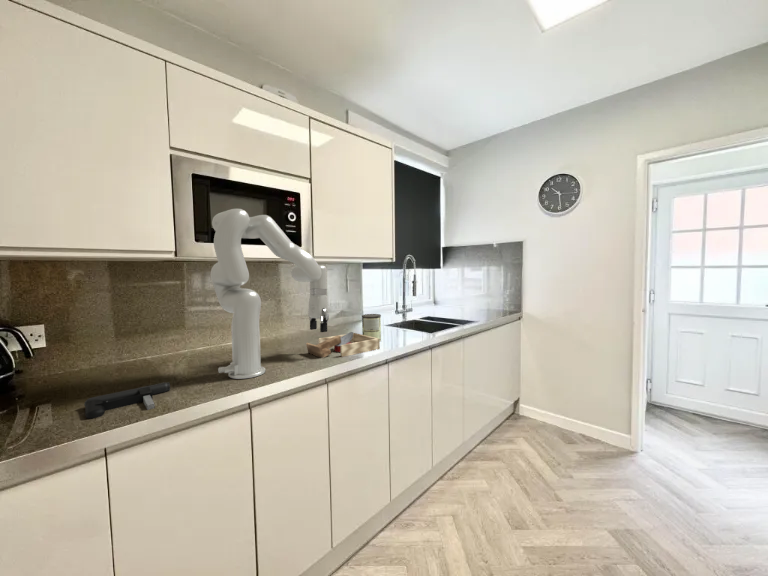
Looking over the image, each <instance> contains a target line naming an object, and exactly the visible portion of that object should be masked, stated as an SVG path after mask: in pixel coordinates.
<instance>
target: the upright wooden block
mask: <svg viewBox="0 0 768 576" xmlns="http://www.w3.org/2000/svg"><path fill="white" fill-rule="evenodd" d="M334 336H335V337H333V338H330V339H328V340H326V341H324V342H322V343H319V342H318V343H317V344H313V343H310V342H306V343H305V345H306V350H307V353H308V354H309V353H310V354H309V355H312V354H313V355H312V356H315V357H317V356H318V358H320V357H321V359H323V357H324V358H326V357H328V356H329V355H332V351H331V348H333V346H335V345H337V344H339V343H342V342H341V338H340V336H338V335H334Z"/></svg>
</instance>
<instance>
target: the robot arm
mask: <svg viewBox="0 0 768 576" xmlns="http://www.w3.org/2000/svg"><path fill="white" fill-rule="evenodd" d="M211 225H212V228H213V229H214V232H215V233H214V236H213V237H214V238H213V247H214V253H215V256H216V259H217V262H216V263H215V264H213V266H212V267H211V269H210V280H211V283H212V287H213V289H214V292H215V295H216V297H217V301H218V303H219V305H220V308H222V310H224V311H225V312H227V313H230V314H232V319H231V326H230V327H231V329H230V330H231V352H232V362H230V364H229V365H227V366H219V367H218V368H217V370H218V373H219V374H222V373H224V374H228V378H230V379H233V380H234V379H236V380H240V379H242V380H243V379H251V378H255V377H259V376H261V375H263V374H265V373H266V368H265V367H264V366H262V363H261V361H262V359H261V358H262V357H261V334H260V333H261V332H260V331H261V330H260V316H261V315H260V314H261V308H262V299H261V297H260V294H259V293H258V292H257V291H255V290H254V289H251V288H243V287H241V286H243V285H246V284H247V283H248V282H249V279H250V273H249V272H250V271H249V269H248V266H247V263H246V259H245V256H244V253H243V250H242V249H243V248H242V239H250V240H251V239H260V240H261V241H262V242H263V243H264V244H265V245H266V247H267V248H268V249H269V251H271V252H272V253H273V255H275V256H276V257H278V258H280V259H282V260H286V261H288V262H291V264H293V265H295V266H293V267H292V269H291V271H290V274H291V277H292V278H293V279H292V280H294V281H296V282H301V283H306V282H307V283H308V282H309V298H308V317H309V330H311V331H313V330H318V321H317V320H320V323H319V326H320V327H319V330H320V332H319V333H326V332H328V322H329V317H330V313H329V312H328V299H327V296H328V295H327V294H328V288H327V287H328V283H327V282H328V278H327V277H328V274H327V272H328V270H327V267H326V266H325V265H321V264H318V262H317V260H316V259H315V258H314V257H313V255H311V254H310V253H309V252H307V251H306V250H305V249H303V248H301V246H299V245H297V244H295V243H294V242H293V241H291V239H290V238H289V237H288V236H287V235H286V233H285V232H284V230H283V229H281V227H280V226H279V225H278V223H276V221H275V220H274V219H273V218H272V217H271V216H270V215H267V214H259V215H254V216H249V213H248V212H247V211H246V210H244V209H242V208H231V209H228V210H224V211H222V212H219V213H217V214H215V215H214V216H213V218H212V222H211Z"/></svg>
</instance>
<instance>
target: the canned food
mask: <svg viewBox="0 0 768 576" xmlns="http://www.w3.org/2000/svg"><path fill="white" fill-rule="evenodd" d="M353 333H354V332H352V331H350V332H348V333H346V335H344V334H343V335H344V336H343V337H341V342H342V343H339V344H337V345H335V346H334V351H335V352H337V353H341V345H344V344H350V343H353V342H349V341H350V340H351V339H352V337H353Z"/></svg>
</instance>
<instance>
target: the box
mask: <svg viewBox="0 0 768 576" xmlns="http://www.w3.org/2000/svg"><path fill="white" fill-rule="evenodd" d="M346 334H347V333H346ZM346 334H339V335H337V336H340V338H341V337H343V336H344V335H346ZM335 336H336V335H333V336H326V337H320V338H318V344H319V343H322V342H324V341H326V340H328V339H330V338H333V337H335ZM349 342H353V343H350V344H344V345H341V352H340V357H348V356H353V355H357V354H363V353H367V352H372V350H373V351H377V350H380V347H381V343H380V342H381V341H380V339H379V338H374V337H370V336H366V335H362V334H360V333H357V332H353V337H352V339H351V340H350V341H349ZM376 349H377V350H376Z"/></svg>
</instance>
